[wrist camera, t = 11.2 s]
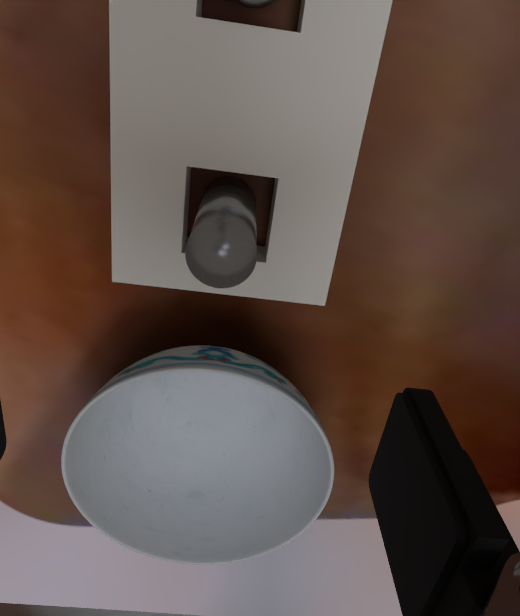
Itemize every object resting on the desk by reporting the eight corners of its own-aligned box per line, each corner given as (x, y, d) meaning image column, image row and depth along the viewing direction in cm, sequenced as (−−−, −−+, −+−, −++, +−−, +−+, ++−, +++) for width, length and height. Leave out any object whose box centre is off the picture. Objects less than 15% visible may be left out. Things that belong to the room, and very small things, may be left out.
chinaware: (277, 265, 29) (285, 330, 22) (342, 440, 36) (363, 532, 29) (58, 337, 32) (4, 417, 25) (158, 490, 38) (137, 586, 31)
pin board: (123, -187, 20) (50, -318, 13) (409, -135, 21) (489, -230, 14) (122, 263, 29) (80, 332, 22) (319, 286, 30) (339, 360, 23)
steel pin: (204, 172, 27) (187, 217, 20) (259, 179, 27) (261, 226, 20) (200, 224, 28) (183, 284, 21) (252, 231, 28) (251, 292, 21)
